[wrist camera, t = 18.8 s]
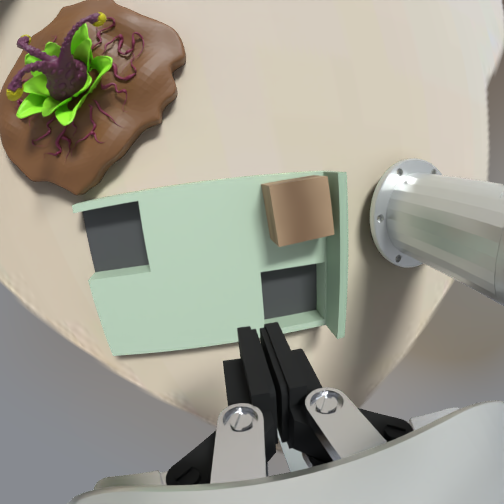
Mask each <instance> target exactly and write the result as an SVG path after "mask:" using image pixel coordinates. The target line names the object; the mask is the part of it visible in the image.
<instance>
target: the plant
mask: <svg viewBox="0 0 504 504" xmlns="http://www.w3.org/2000/svg"><path fill="white" fill-rule="evenodd" d="M17 47H19V48H21V49H23V51H22V53H21V55H20V57H19V58H18V60H17V62H16V64H15V65H14V67H13V69H12V70H11V72H10V74H9V75H8V77H7V79H6V81H5V83H4V85H3V87H2V90H1V92H0V136H1V141H2V145H3V147H4V149H5V151H6V153H7V155H8V157H9V158H10V160H11V161H12V162H13V163H14V164H15V165H16V166H17V167H18V168H19V169H20V170H21V171H22V172H23V173H24V174H25V175H26V176H27V177H28V178H29V179H30V180H32V181H34V182H41V181H47V182H52V183H54V184H56V185H58V186H60V187H62V188H64V189H67V190H68V191H70V192H71V193H73V194H75V195H82V194H85V193H86V192H87V191H88V190H90V189H91V188H92V187H94V186H96V185H97V184H98V183H99V182H100V181H101V179H102V178H103V176H104V174H105V173H106V171H107V170H108V169H109V168H110V167H111V166H112V165H113V164H114V163H115V162H116V161H118V160H119V159H121V158H122V157H123V156H124V155H125V154H126V152H127V151H128V150H129V148H130V147H131V146H132V144H133V143H134V142H135V140H136V139H137V138H138V137H139V135H140V134H141V133H142V132H143V131H145V130H146V129H148V128H150V127H152V126H155V125H158V124H161V123H162V114H163V111H164V109H165V107H166V106H167V105H168V104H170V103H171V102H172V101H173V100H174V99H175V98H176V97H177V88H176V84H175V81H174V79H173V72H174V71H175V70H176V69H178V68H179V67H181V66H183V65H184V64H185V62H186V54H185V49H184V46H183V43H182V40H181V38H180V37H179V35H178V34H177V32H176V31H175V30H174V29H173V28H171V27H170V26H168V25H166V24H164V23H162V22H159V21H157V20H154V19H151V18H149V17H146V16H143V15H141V14H139V13H136V12H134V11H132V10H130V9H128V8H125V7H122V6H120V5H117V4H116V3H115V2H114V1H113V0H86V1H82V2H80V3H77V4H74V5H70V6H66V7H63V8H62V9H61V11H60V12H59V14H58V15H57V17H56V18H55V19H54V20H53V21H52V22H51V23H50V24H49V25H48V26H46V27H45V28H44V29H43V30H41V31H40V32H38V33H37V34H35V35H33V36H32V37H30V36H29V35H23V36H21V37H20V38H19V39H18V41H17Z"/></svg>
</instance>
